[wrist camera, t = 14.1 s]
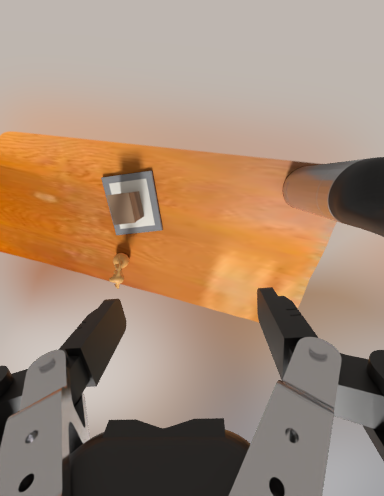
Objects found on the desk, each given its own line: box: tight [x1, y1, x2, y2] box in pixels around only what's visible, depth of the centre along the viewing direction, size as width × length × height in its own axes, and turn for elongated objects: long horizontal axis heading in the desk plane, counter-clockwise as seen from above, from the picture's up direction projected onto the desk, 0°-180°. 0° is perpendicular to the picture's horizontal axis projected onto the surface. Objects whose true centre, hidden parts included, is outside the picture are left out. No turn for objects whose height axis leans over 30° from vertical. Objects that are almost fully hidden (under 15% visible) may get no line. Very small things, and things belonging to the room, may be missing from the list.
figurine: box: [109, 253, 129, 289], centre depth 47 cm, size 8×6×12 cm
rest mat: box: [101, 171, 163, 235], centre depth 47 cm, size 12×14×1 cm
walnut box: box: [106, 191, 144, 225], centre depth 43 cm, size 5×6×7 cm
